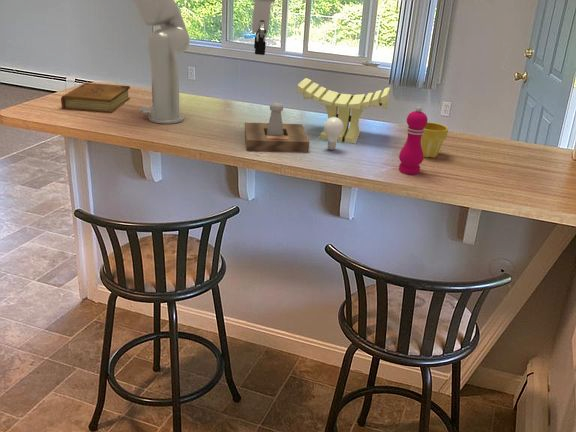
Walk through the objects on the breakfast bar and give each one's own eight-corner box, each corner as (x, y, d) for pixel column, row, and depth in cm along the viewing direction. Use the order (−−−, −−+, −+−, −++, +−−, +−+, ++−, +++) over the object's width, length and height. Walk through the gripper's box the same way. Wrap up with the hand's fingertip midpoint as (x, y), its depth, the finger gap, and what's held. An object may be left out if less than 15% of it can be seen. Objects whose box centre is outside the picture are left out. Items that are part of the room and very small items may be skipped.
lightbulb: (343, 148, 191) (346, 116, 186) (338, 154, 185) (341, 121, 181) (324, 145, 193) (327, 113, 188) (319, 151, 187) (322, 118, 183)
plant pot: (442, 151, 195) (447, 123, 191) (444, 161, 186) (449, 132, 182) (411, 148, 196) (415, 120, 192) (411, 157, 187) (416, 128, 183)
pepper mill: (394, 166, 178) (403, 102, 170) (417, 167, 179) (427, 103, 170) (400, 174, 172) (410, 109, 163) (423, 175, 172) (435, 110, 164)
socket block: (246, 150, 183) (246, 139, 182) (244, 132, 201) (244, 121, 200) (308, 152, 185) (309, 141, 184) (301, 133, 203) (301, 123, 202)
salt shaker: (284, 140, 196) (286, 102, 190) (282, 145, 191) (284, 106, 185) (267, 138, 196) (269, 100, 191) (264, 143, 191) (266, 104, 186)
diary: (85, 96, 234) (84, 82, 232) (130, 100, 234) (129, 86, 232) (62, 110, 213) (60, 95, 211) (111, 114, 213) (110, 98, 211)
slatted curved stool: (384, 134, 209) (390, 85, 202) (379, 147, 195) (386, 95, 188) (303, 124, 215) (307, 76, 207) (294, 135, 201) (297, 84, 193)
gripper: (251, -8, 188) (247, 46, 196) (252, -3, 173) (248, 55, 180) (273, -6, 189) (269, 48, 197) (276, 0, 174) (272, 57, 181)
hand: (259, 51), depth 188 cm, fingers open, 9 cm apart
